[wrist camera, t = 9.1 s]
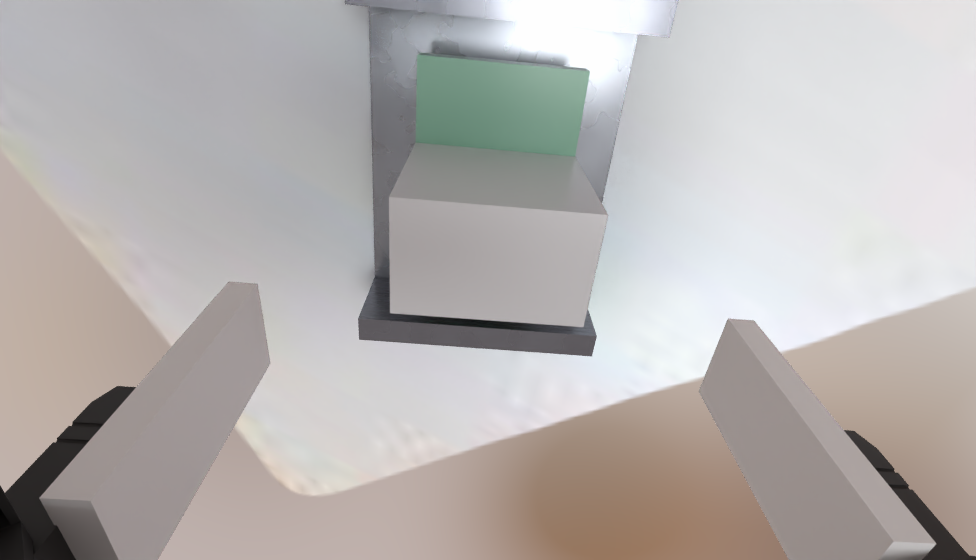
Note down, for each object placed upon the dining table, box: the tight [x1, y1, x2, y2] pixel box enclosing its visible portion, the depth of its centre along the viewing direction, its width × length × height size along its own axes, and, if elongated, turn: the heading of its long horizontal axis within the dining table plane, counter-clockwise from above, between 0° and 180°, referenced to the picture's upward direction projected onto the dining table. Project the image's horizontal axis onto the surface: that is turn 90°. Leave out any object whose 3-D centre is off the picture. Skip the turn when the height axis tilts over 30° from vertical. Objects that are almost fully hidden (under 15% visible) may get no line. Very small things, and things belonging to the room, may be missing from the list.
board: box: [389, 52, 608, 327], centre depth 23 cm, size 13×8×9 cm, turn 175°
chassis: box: [345, 0, 678, 356], centre depth 28 cm, size 20×14×6 cm
